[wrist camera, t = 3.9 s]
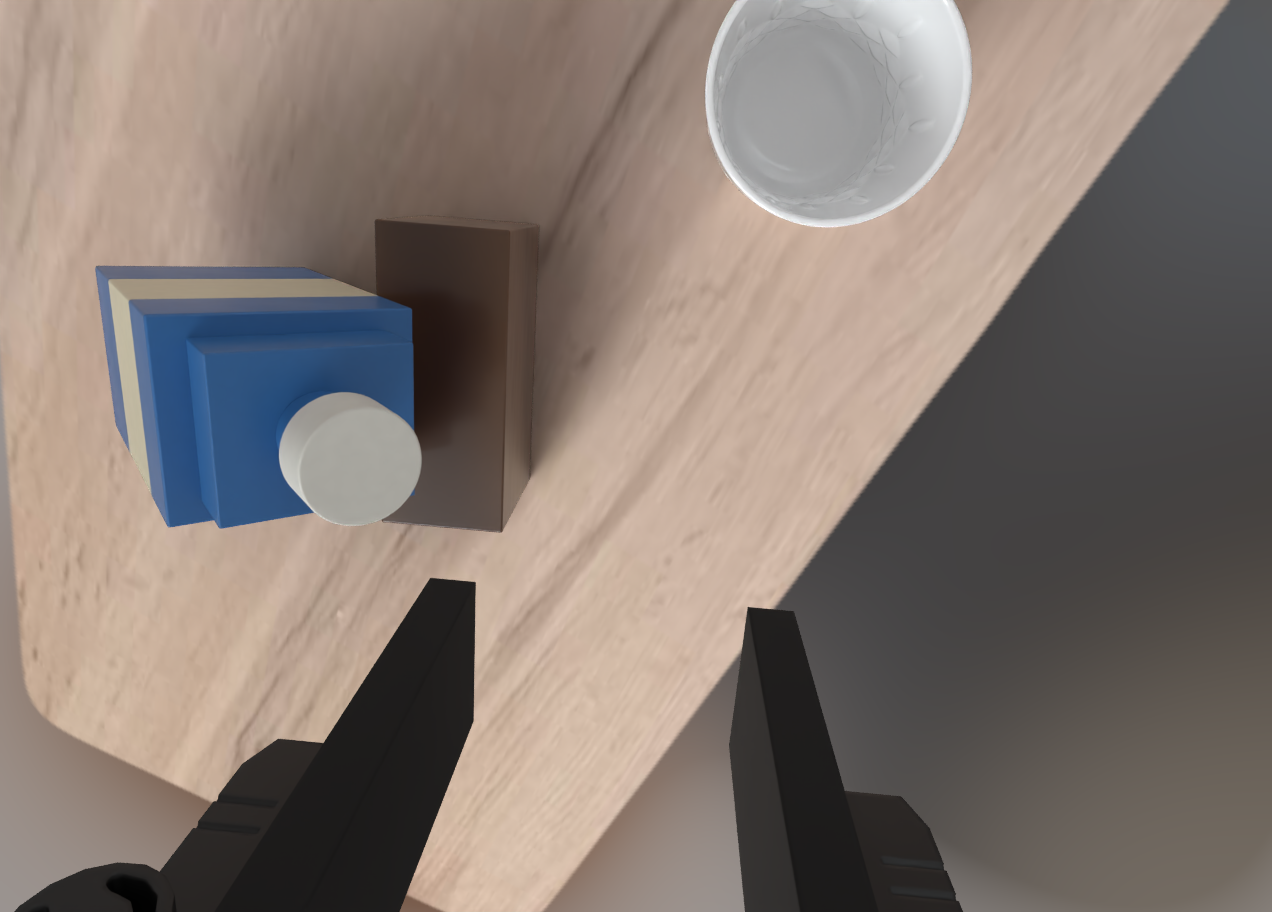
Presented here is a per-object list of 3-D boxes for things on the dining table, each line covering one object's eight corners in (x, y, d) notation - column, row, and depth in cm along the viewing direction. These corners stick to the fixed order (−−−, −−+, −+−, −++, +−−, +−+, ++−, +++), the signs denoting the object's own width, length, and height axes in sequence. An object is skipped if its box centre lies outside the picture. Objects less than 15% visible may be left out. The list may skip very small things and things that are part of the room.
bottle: (519, 284, 36) (395, 359, 20) (515, 425, 38) (399, 599, 22) (172, 256, 36) (-242, 306, 20) (186, 397, 38) (-178, 549, 22)
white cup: (742, 250, 35) (767, 270, 26) (666, 73, 33) (661, 23, 24) (914, 166, 34) (1008, 155, 24) (846, -24, 32) (919, -118, 22)
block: (539, 224, 35) (510, 230, 29) (529, 480, 39) (502, 533, 33) (427, 215, 35) (373, 219, 29) (428, 471, 39) (381, 522, 33)
